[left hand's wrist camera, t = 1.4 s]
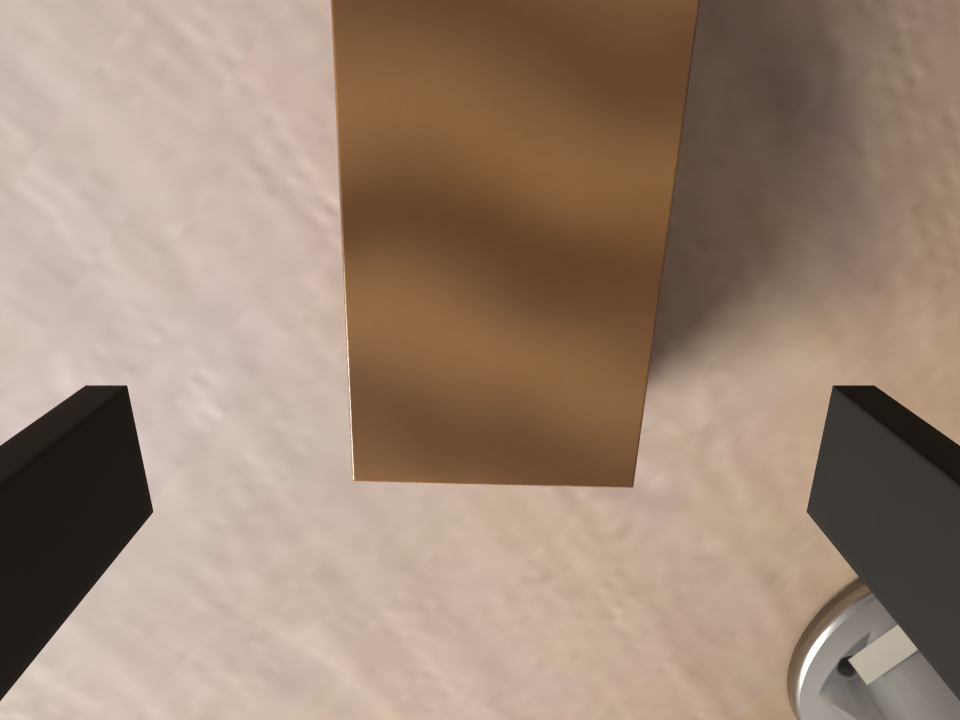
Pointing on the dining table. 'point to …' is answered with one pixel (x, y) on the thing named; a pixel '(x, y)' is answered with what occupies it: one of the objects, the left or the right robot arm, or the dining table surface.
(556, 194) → the long beam
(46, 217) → the dining table surface
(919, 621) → the left robot arm
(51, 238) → the dining table surface
